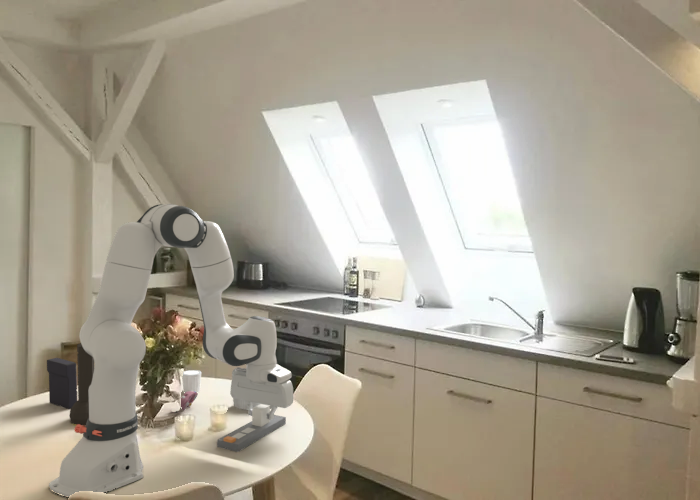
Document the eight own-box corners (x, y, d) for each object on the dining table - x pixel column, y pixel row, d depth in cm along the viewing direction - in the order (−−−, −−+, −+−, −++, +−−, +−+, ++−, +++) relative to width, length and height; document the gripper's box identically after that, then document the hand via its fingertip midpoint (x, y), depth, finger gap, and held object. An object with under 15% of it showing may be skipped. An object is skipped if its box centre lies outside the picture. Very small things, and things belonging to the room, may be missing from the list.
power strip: (238, 457, 168) (238, 441, 167) (217, 452, 171) (217, 436, 170) (285, 428, 189) (285, 414, 189) (266, 424, 192) (266, 410, 192)
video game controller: (179, 418, 200) (188, 400, 199) (168, 411, 201) (177, 393, 200) (193, 408, 210) (202, 391, 209) (182, 401, 210) (190, 384, 209)
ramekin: (278, 410, 205) (279, 390, 204) (241, 418, 198) (242, 396, 197) (261, 399, 216) (261, 379, 215) (225, 406, 208) (225, 385, 208)
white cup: (178, 393, 220) (178, 374, 220) (186, 387, 227) (186, 369, 226) (196, 395, 219) (196, 375, 218) (204, 389, 226) (204, 370, 225)
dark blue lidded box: (79, 406, 205) (78, 362, 204) (67, 410, 202) (66, 364, 200) (59, 400, 211) (58, 356, 210) (47, 403, 207) (46, 359, 206)
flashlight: (68, 427, 187) (103, 423, 190) (66, 345, 185) (102, 343, 188) (70, 416, 196) (104, 413, 199) (69, 338, 194) (103, 336, 197)
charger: (261, 433, 181) (261, 410, 180) (252, 431, 182) (252, 408, 182) (269, 428, 185) (269, 405, 184) (260, 426, 186) (260, 403, 186)
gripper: (226, 368, 184) (225, 414, 185) (284, 378, 175) (284, 426, 176) (238, 363, 189) (238, 408, 190) (296, 373, 180) (295, 419, 181)
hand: (261, 417), depth 183 cm, fingers open, 5 cm apart
